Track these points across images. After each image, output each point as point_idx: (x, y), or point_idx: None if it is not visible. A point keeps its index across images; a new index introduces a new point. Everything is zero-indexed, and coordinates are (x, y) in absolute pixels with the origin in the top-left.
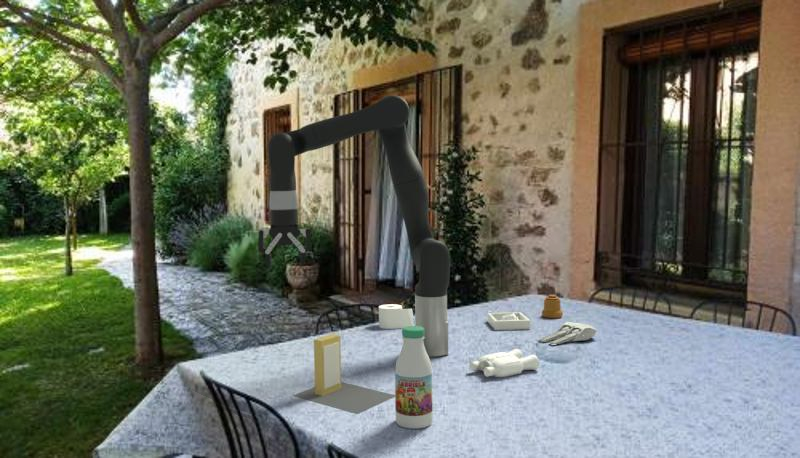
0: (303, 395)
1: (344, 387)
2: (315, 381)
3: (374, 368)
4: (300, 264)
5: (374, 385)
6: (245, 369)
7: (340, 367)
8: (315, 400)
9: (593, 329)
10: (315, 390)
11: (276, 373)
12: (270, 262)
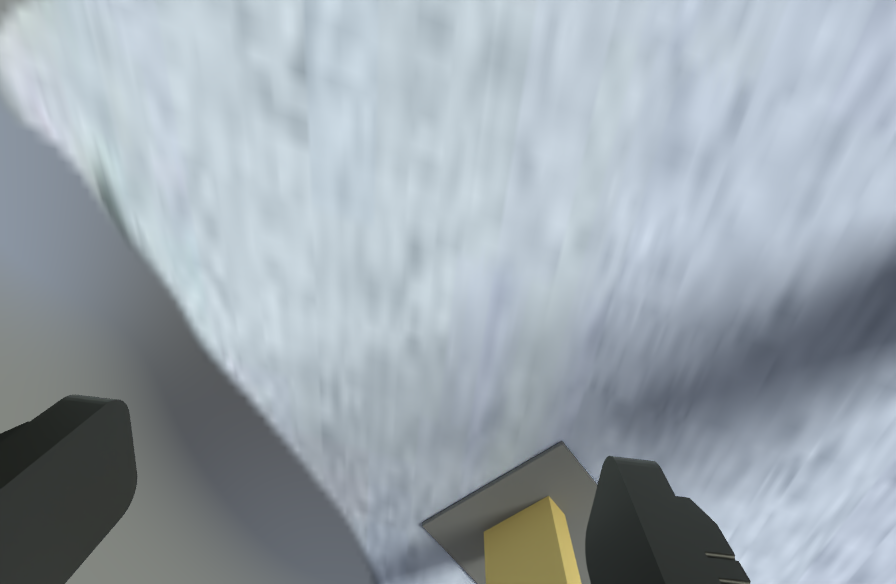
0: (450, 533)
1: (575, 511)
2: (486, 563)
3: (740, 355)
4: (591, 578)
5: None
6: (271, 218)
7: (575, 567)
8: (476, 571)
9: None
10: (485, 540)
11: (387, 304)
12: (70, 568)
